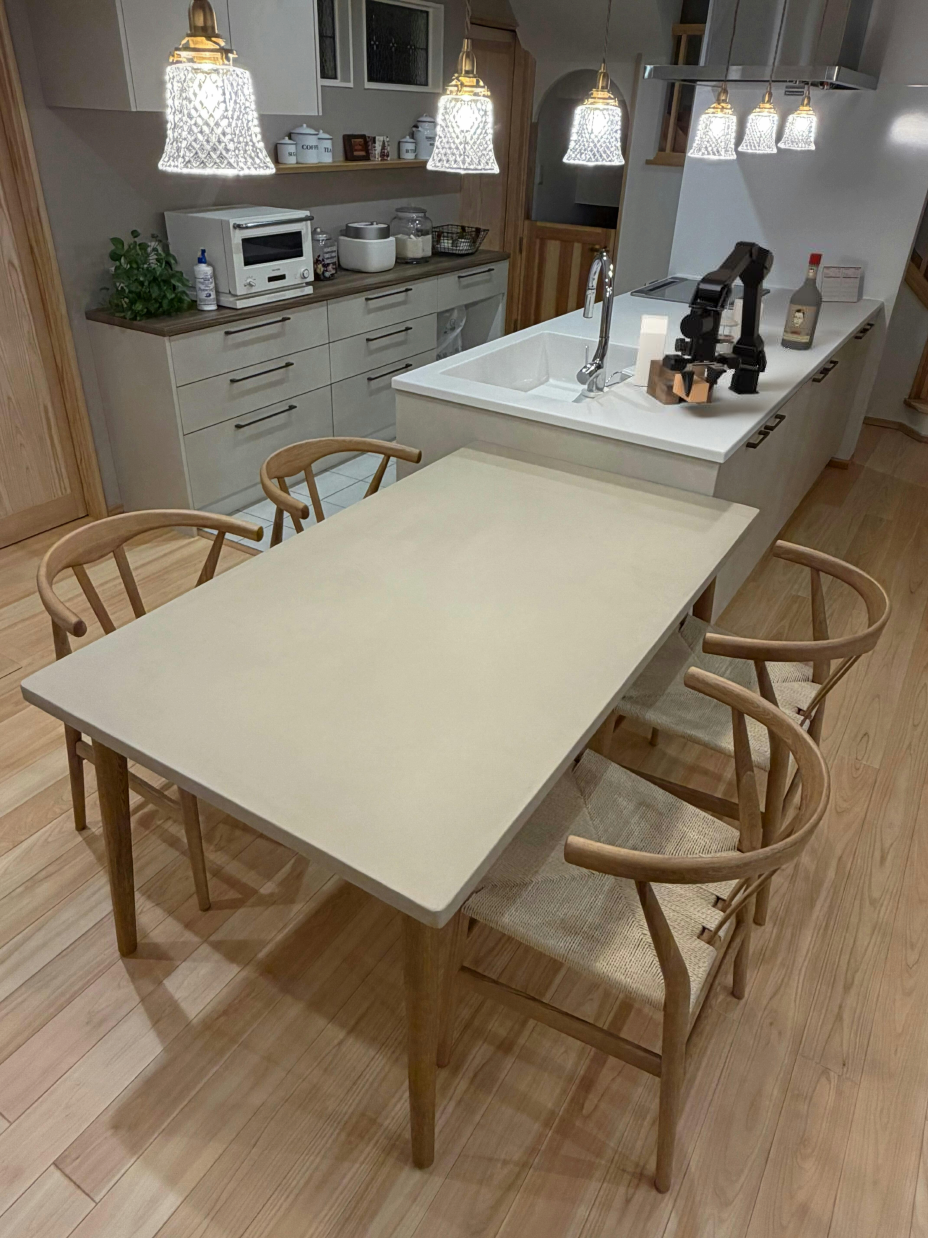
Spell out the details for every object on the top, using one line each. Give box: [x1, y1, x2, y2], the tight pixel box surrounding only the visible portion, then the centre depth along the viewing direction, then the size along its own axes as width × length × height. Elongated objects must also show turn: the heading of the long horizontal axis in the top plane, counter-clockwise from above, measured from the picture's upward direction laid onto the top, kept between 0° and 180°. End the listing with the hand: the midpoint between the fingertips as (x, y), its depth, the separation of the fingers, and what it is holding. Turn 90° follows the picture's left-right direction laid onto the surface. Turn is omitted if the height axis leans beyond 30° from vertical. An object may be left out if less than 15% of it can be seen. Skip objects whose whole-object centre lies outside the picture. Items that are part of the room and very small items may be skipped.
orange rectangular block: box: [673, 374, 709, 403], centre depth 215 cm, size 4×10×4 cm, turn 13°
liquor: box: [780, 252, 823, 351], centre depth 285 cm, size 9×9×30 cm
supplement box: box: [728, 298, 765, 344], centre depth 287 cm, size 9×9×15 cm
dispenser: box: [646, 360, 719, 406], centre depth 230 cm, size 15×13×9 cm
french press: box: [704, 283, 739, 370], centre depth 258 cm, size 10×12×25 cm
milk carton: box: [633, 314, 669, 387], centre depth 240 cm, size 7×7×19 cm
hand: (695, 396), depth 213 cm, fingers closed on orange rectangular block, 4 cm apart
